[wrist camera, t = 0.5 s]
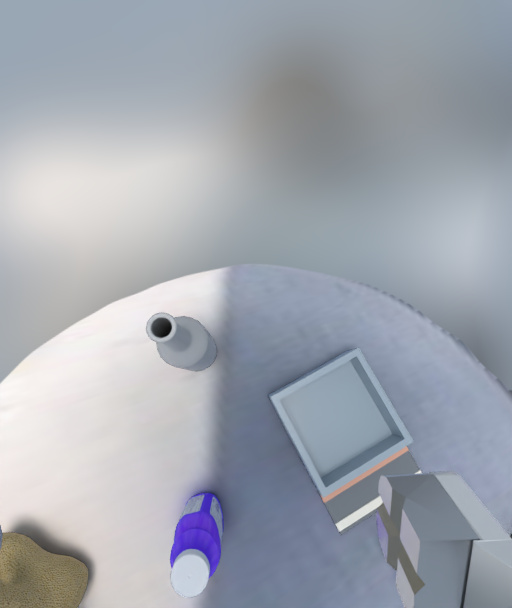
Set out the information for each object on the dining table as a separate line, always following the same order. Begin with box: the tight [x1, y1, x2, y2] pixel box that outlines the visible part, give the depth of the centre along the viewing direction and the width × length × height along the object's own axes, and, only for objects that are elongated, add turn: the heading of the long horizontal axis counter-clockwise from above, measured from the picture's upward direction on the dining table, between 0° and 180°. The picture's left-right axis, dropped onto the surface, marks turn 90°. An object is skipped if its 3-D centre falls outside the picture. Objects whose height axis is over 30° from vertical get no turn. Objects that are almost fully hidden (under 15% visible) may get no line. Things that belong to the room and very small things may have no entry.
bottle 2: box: [170, 493, 224, 598], centre depth 45 cm, size 7×6×17 cm
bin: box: [268, 348, 414, 498], centre depth 55 cm, size 16×16×5 cm
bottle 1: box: [146, 313, 217, 371], centre depth 45 cm, size 7×7×28 cm
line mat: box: [317, 446, 422, 535], centre depth 55 cm, size 7×16×1 cm, turn 118°
